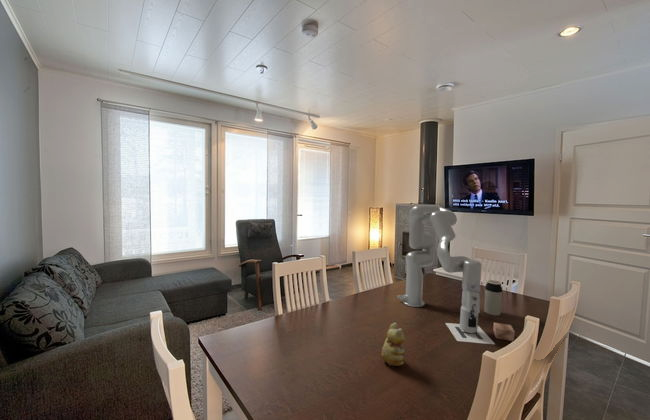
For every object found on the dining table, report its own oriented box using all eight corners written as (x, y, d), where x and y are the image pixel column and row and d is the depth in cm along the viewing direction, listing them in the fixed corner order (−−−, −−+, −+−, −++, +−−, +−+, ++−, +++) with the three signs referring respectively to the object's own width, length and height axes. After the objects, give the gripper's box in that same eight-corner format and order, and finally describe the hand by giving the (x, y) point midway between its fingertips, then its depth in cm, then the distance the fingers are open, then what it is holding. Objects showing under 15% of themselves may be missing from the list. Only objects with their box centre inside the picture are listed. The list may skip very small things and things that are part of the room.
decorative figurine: (408, 368, 105) (409, 329, 104) (388, 372, 102) (390, 332, 101) (394, 354, 114) (396, 318, 113) (376, 357, 111) (377, 320, 111)
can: (456, 326, 136) (457, 302, 136) (470, 326, 137) (472, 302, 136) (465, 333, 129) (466, 308, 128) (480, 333, 130) (482, 308, 129)
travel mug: (502, 317, 153) (504, 284, 152) (485, 314, 156) (487, 282, 155) (498, 311, 160) (500, 280, 159) (482, 309, 163) (484, 278, 162)
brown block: (496, 339, 129) (496, 328, 129) (493, 332, 135) (493, 322, 135) (514, 342, 126) (514, 331, 126) (510, 335, 133) (510, 325, 132)
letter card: (457, 341, 125) (457, 340, 125) (445, 323, 143) (445, 322, 143) (495, 345, 123) (495, 344, 123) (478, 326, 141) (478, 325, 141)
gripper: (487, 293, 123) (485, 332, 124) (471, 281, 140) (469, 315, 141) (469, 292, 124) (467, 331, 125) (456, 280, 141) (454, 314, 142)
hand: (468, 322), depth 133 cm, fingers closed on can, 7 cm apart
